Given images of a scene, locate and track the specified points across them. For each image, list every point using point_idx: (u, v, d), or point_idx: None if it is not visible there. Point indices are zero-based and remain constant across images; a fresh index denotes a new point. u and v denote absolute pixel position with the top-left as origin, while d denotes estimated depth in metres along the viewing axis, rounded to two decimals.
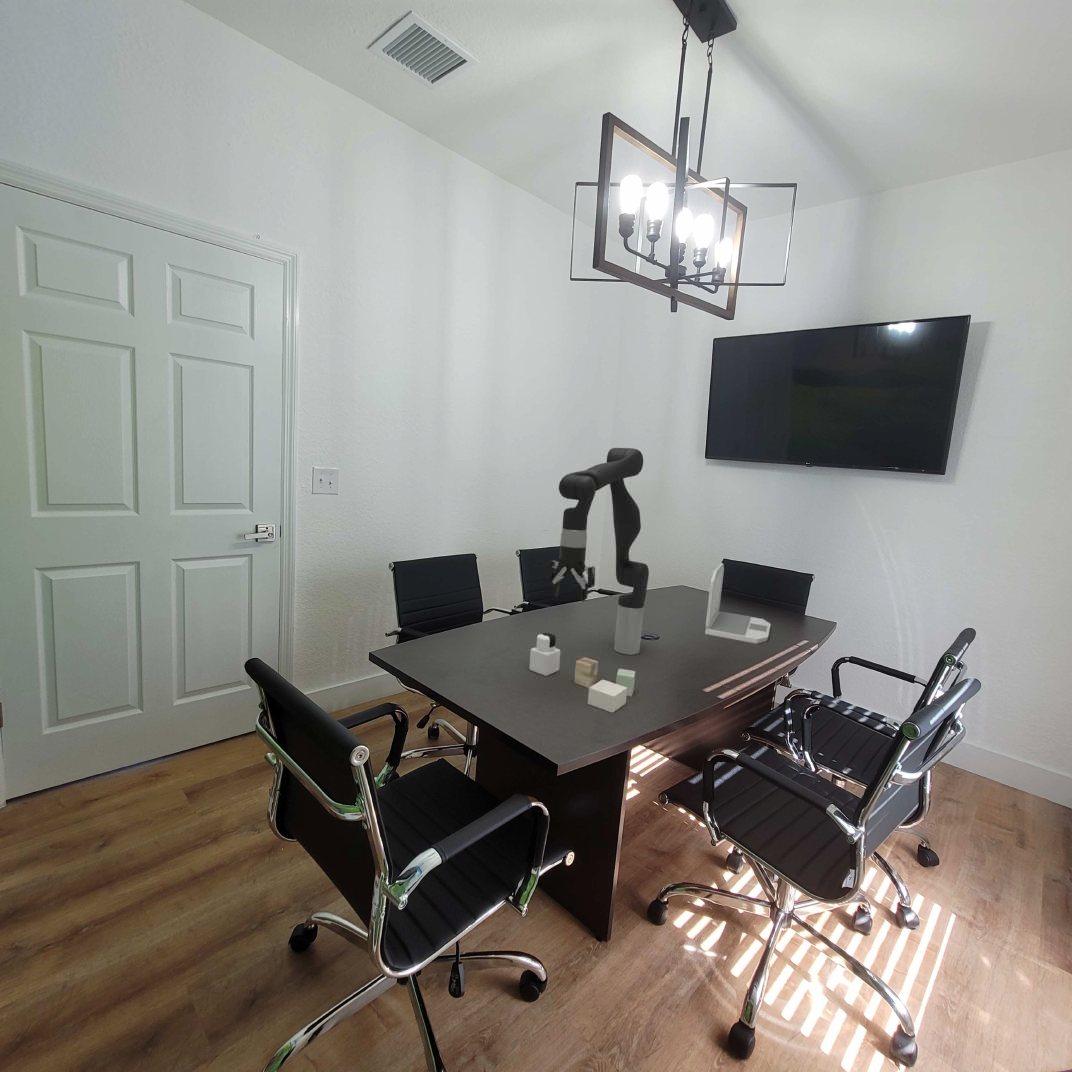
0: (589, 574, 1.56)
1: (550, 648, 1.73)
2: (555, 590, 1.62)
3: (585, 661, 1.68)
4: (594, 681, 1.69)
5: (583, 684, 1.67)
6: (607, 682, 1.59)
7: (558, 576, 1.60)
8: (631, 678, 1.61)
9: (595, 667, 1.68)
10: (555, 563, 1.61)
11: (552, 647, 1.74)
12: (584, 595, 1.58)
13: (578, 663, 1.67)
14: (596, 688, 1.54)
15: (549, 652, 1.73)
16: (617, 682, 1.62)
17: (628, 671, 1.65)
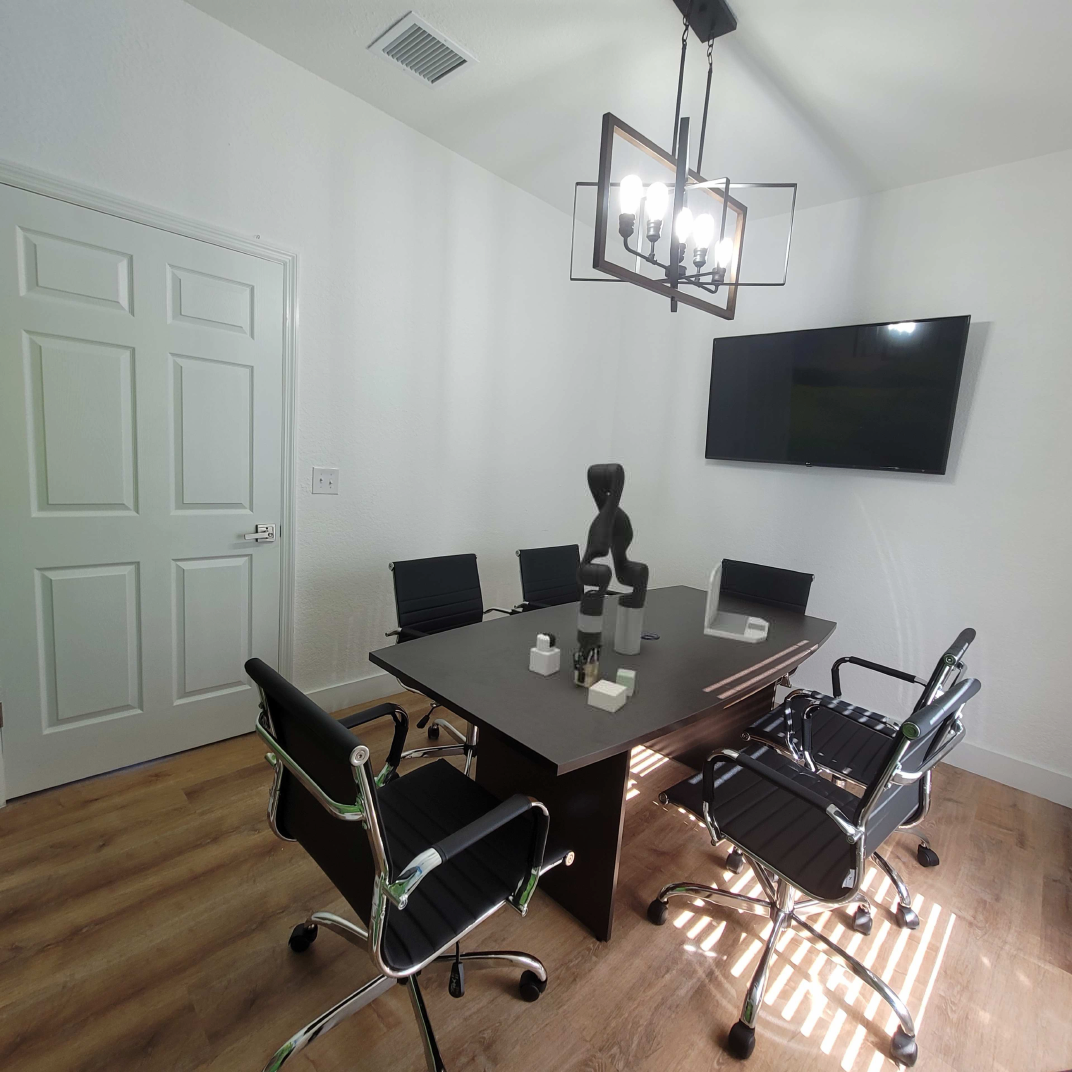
0: (600, 650, 1.72)
1: (550, 648, 1.73)
2: (584, 678, 1.66)
3: (585, 661, 1.68)
4: (594, 681, 1.69)
5: (583, 684, 1.67)
6: (606, 682, 1.59)
7: (588, 663, 1.65)
8: (631, 678, 1.61)
9: (595, 667, 1.68)
10: (580, 653, 1.63)
11: (552, 647, 1.74)
12: None
13: None
14: (596, 688, 1.54)
15: (549, 652, 1.73)
16: (617, 682, 1.62)
17: (628, 671, 1.65)
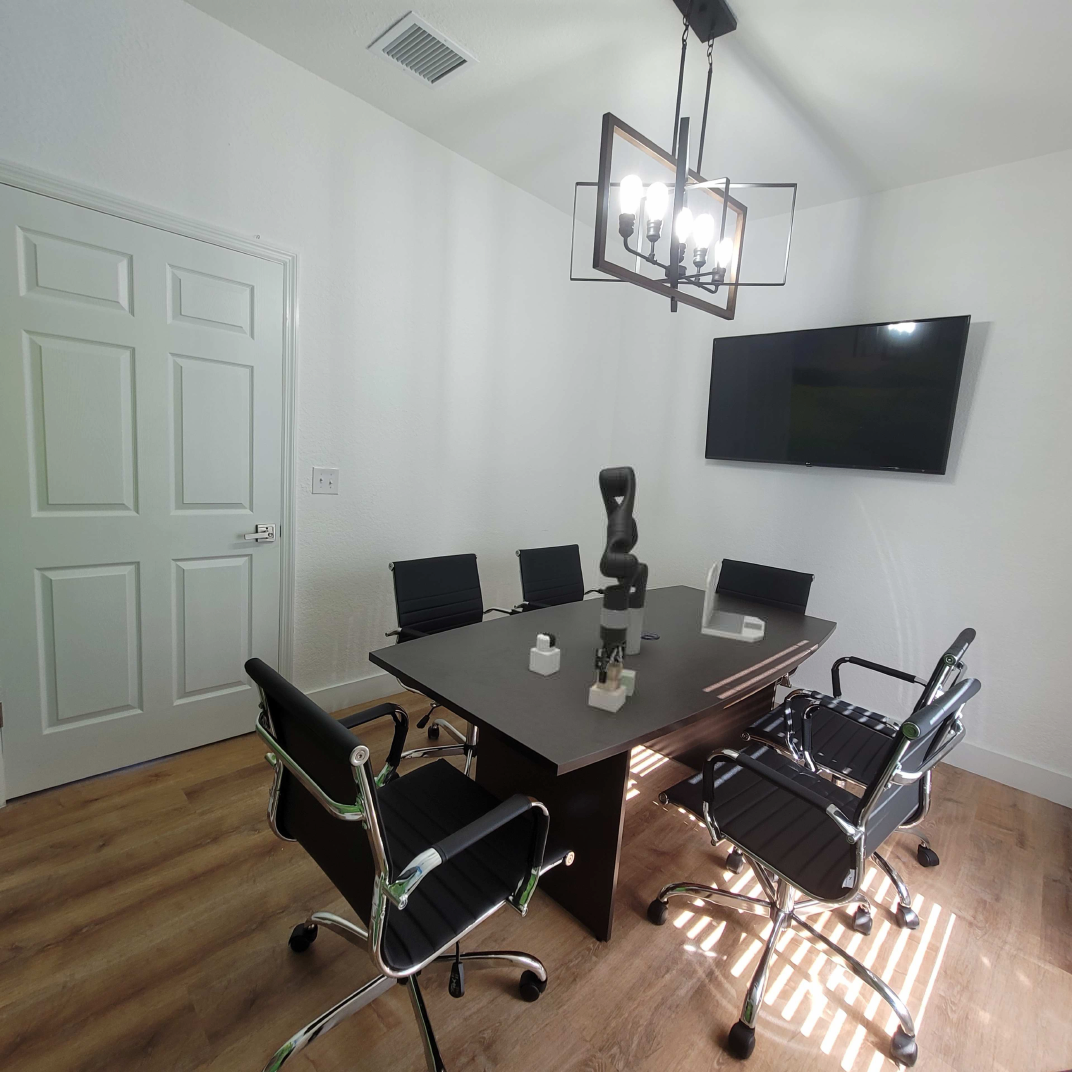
0: (625, 646, 1.58)
1: (550, 648, 1.73)
2: (606, 677, 1.51)
3: None
4: (618, 685, 1.55)
5: (607, 689, 1.53)
6: None
7: (611, 661, 1.50)
8: (631, 678, 1.61)
9: (619, 670, 1.54)
10: None
11: (552, 647, 1.74)
12: None
13: None
14: (596, 688, 1.54)
15: (549, 652, 1.73)
16: None
17: (628, 671, 1.65)
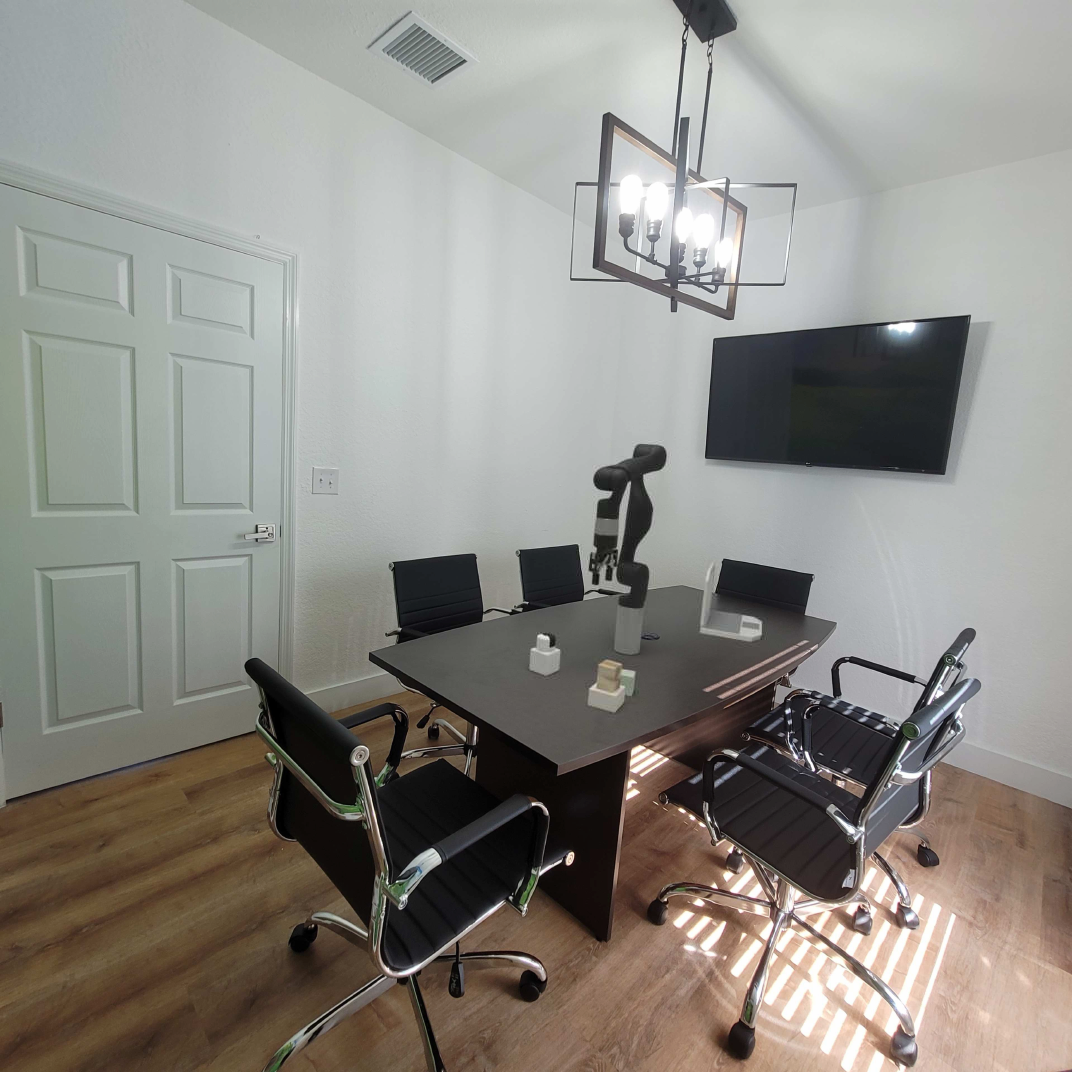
0: (616, 555, 1.76)
1: (550, 648, 1.73)
2: (598, 579, 1.69)
3: (608, 664, 1.54)
4: (618, 685, 1.55)
5: (607, 689, 1.53)
6: None
7: (603, 565, 1.69)
8: (631, 678, 1.61)
9: (619, 670, 1.54)
10: None
11: (552, 647, 1.74)
12: None
13: (601, 666, 1.53)
14: (595, 689, 1.54)
15: (549, 652, 1.73)
16: None
17: (628, 671, 1.65)
